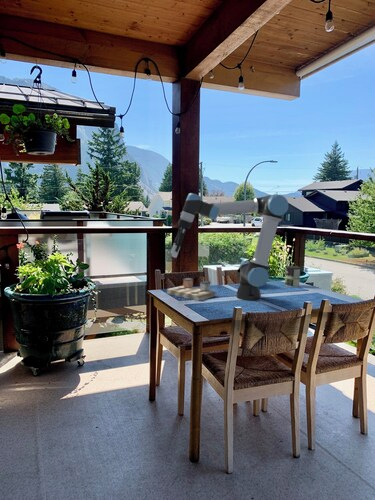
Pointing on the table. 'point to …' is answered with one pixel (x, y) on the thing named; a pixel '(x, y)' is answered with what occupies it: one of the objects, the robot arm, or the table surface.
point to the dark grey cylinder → (239, 272)
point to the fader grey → (205, 285)
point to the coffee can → (292, 276)
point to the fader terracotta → (188, 282)
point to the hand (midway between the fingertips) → (173, 255)
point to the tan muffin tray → (191, 293)
